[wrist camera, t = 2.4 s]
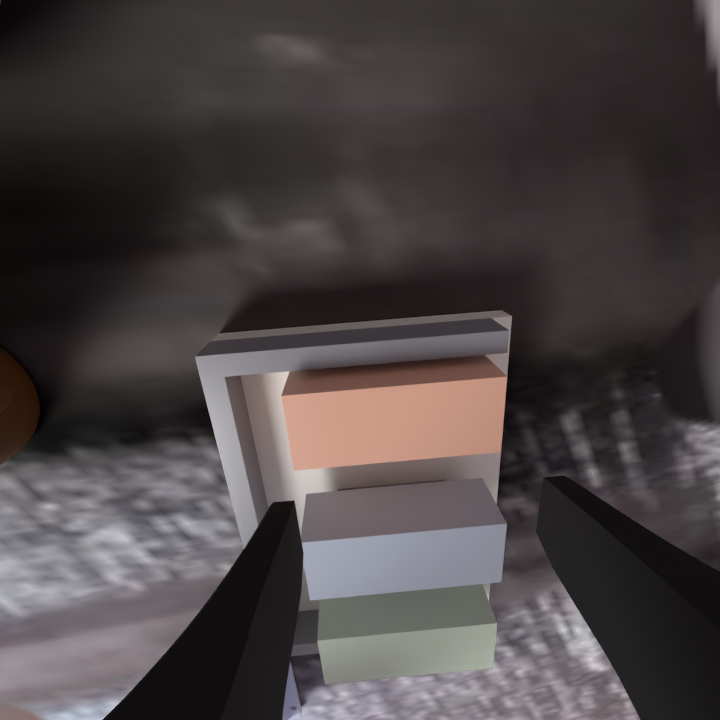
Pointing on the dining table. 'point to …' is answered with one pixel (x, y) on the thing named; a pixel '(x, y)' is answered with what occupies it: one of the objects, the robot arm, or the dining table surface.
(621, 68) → the dining table surface
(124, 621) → the dining table surface
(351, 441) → the key terracotta
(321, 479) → the keypad
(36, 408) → the mug
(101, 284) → the dining table surface
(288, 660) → the robot arm
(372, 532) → the key slate
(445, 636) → the key sage
